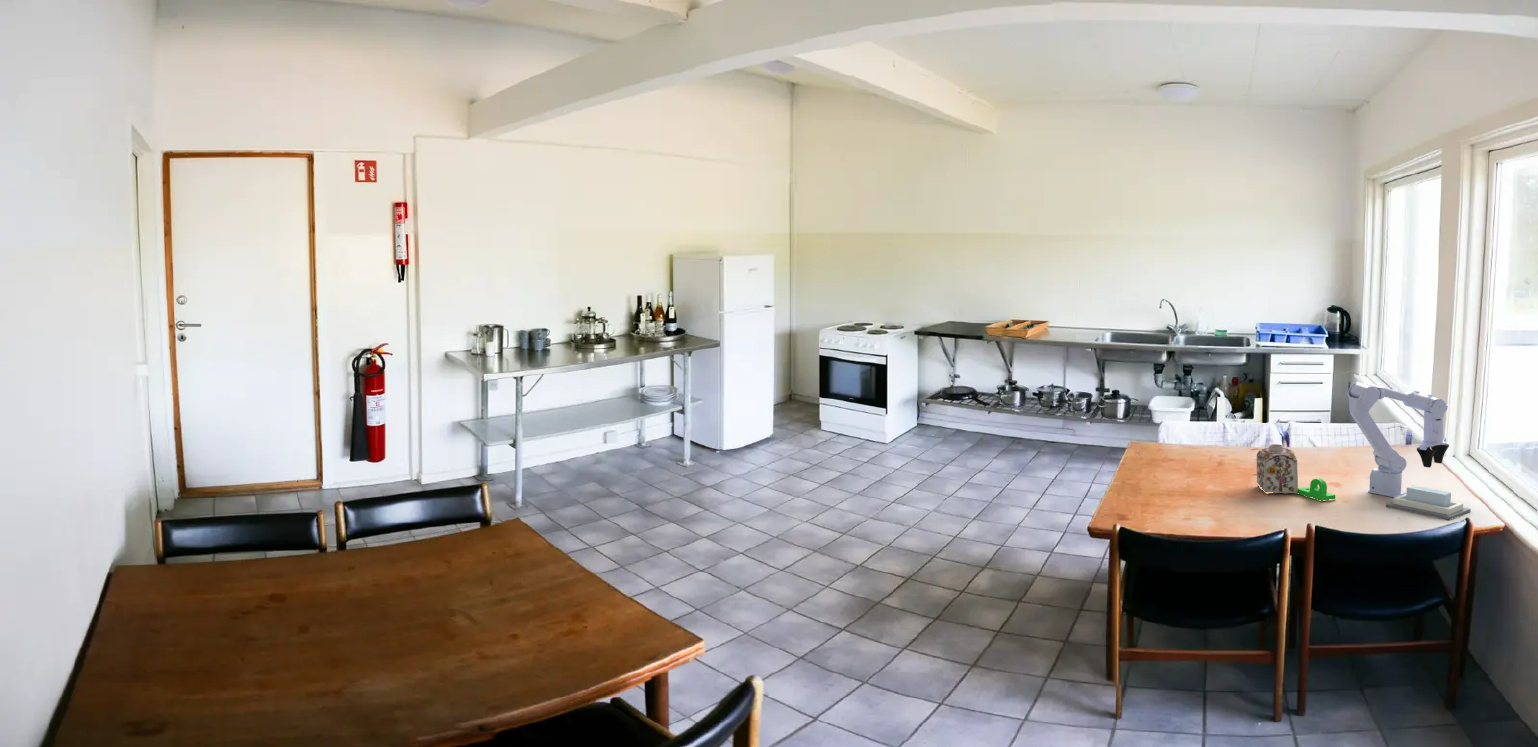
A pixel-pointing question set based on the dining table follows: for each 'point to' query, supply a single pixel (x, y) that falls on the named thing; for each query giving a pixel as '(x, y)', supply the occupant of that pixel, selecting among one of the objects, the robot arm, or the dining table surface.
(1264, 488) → the decorative jar
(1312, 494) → the mechanical part
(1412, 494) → the block
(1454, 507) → the cradle jig
